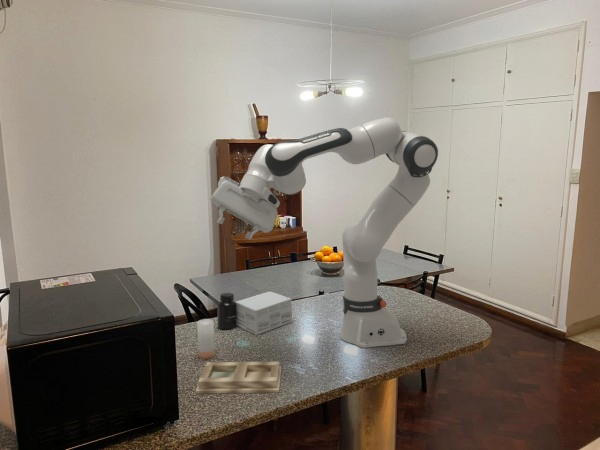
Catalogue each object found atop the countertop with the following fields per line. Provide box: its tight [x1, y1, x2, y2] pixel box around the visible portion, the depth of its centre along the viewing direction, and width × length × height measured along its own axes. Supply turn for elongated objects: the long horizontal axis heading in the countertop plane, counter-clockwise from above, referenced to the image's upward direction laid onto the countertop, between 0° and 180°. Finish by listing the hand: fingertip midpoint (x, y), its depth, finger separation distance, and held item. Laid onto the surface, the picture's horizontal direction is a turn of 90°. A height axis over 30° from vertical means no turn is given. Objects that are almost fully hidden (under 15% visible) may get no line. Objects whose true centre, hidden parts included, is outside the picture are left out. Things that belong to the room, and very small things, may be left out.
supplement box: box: [235, 291, 293, 336], centre depth 163 cm, size 17×13×9 cm
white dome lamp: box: [196, 318, 216, 360], centre depth 138 cm, size 5×5×11 cm
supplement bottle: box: [216, 292, 237, 330], centre depth 161 cm, size 7×7×12 cm
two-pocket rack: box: [195, 361, 282, 394], centre depth 123 cm, size 22×13×3 cm, turn 89°
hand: (233, 230), depth 128 cm, fingers open, 8 cm apart
